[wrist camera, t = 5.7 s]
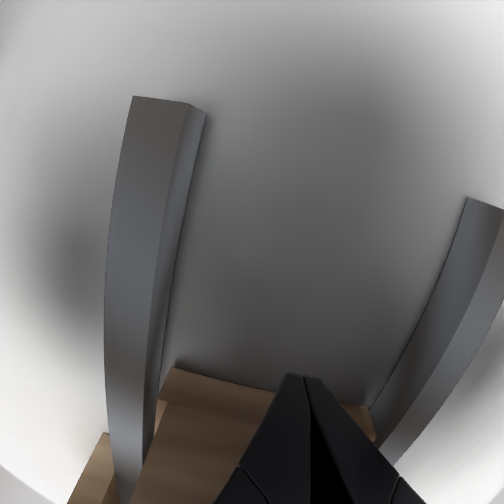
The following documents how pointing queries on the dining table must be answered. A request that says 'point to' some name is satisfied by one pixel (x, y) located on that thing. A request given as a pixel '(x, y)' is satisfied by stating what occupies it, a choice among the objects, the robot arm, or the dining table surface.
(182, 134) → the tunnel track
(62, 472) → the dining table surface
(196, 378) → the sled
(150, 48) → the dining table surface
